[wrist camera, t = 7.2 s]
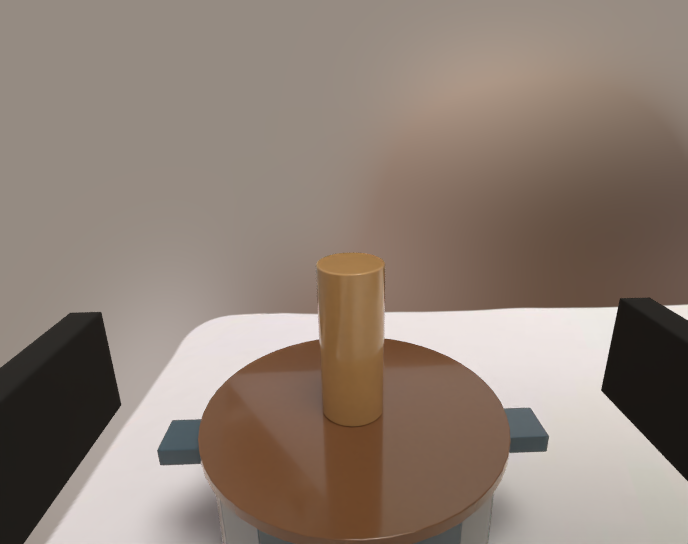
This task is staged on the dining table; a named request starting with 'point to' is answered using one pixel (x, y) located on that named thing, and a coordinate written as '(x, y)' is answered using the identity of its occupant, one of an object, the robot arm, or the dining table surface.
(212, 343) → the dining table surface
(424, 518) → the lid
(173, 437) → the pot
